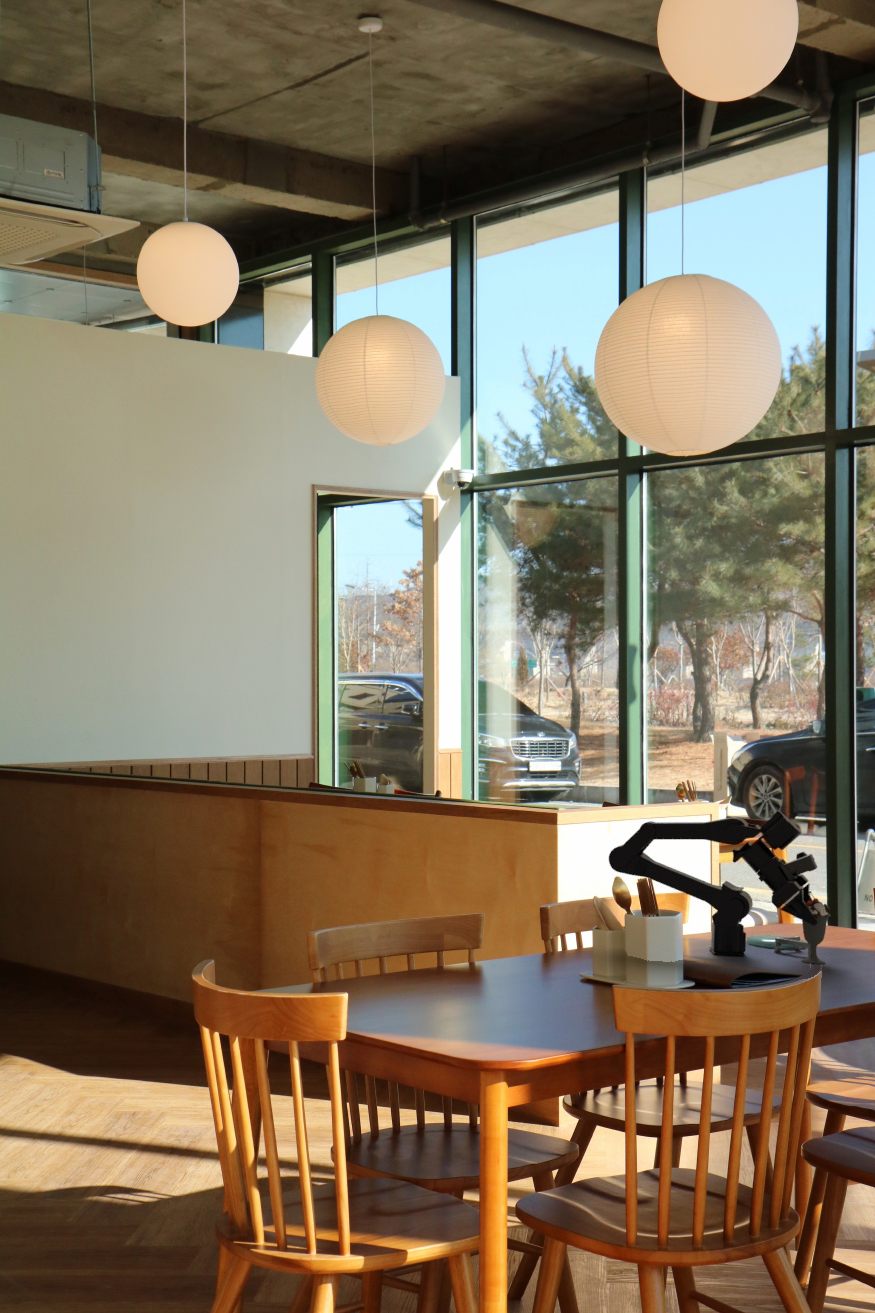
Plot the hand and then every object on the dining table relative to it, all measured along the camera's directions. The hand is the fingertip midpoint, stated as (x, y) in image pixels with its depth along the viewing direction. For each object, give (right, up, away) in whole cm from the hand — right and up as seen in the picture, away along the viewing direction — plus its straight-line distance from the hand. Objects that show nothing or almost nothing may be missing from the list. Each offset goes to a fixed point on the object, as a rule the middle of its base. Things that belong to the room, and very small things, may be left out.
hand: (818, 921), depth 280 cm
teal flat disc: (-4, -9, +21) cm, 23 cm away
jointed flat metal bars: (-3, -9, +9) cm, 13 cm away
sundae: (-1, -9, 0) cm, 9 cm away
